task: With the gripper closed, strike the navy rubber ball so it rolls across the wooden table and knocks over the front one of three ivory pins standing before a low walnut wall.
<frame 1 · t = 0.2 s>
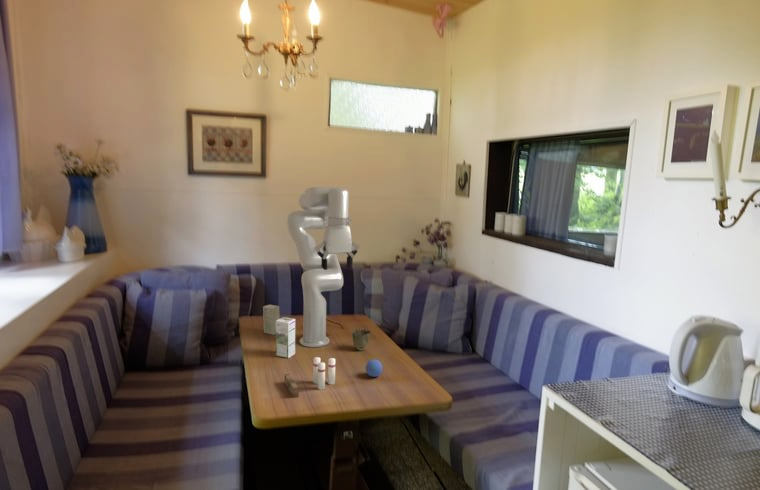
hand: (337, 268, 177), 36 cm above the table, tool pointing down, fingers open, 9 cm apart
glasses: (325, 331, 221), on the table
skincare box: (271, 333, 214), on the table
pin 2: (321, 388, 160), on the table
back wall: (291, 389, 158), on the table
ball: (374, 368, 170), on the table
front pin: (331, 383, 164), on the table
syrup box: (285, 355, 188), on the table
cup: (360, 350, 196), on the table
pin 1: (316, 382, 164), on the table
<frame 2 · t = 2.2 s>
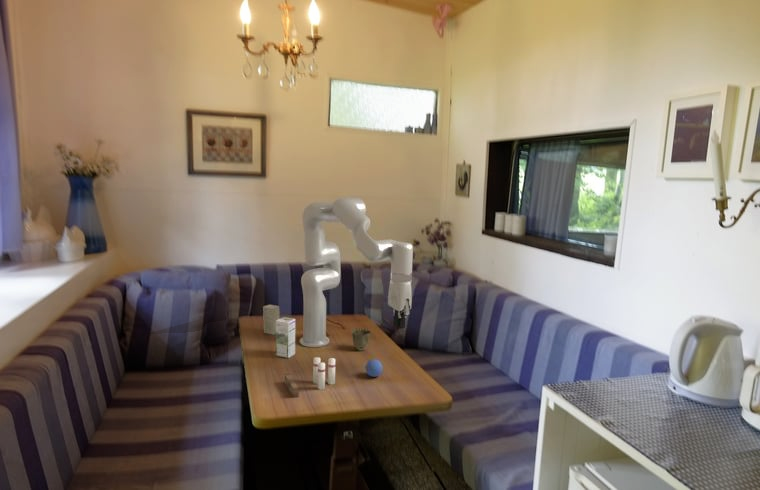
hand: (399, 326, 172), 17 cm above the table, tool pointing down, fingers closed
nothing on the table moved.
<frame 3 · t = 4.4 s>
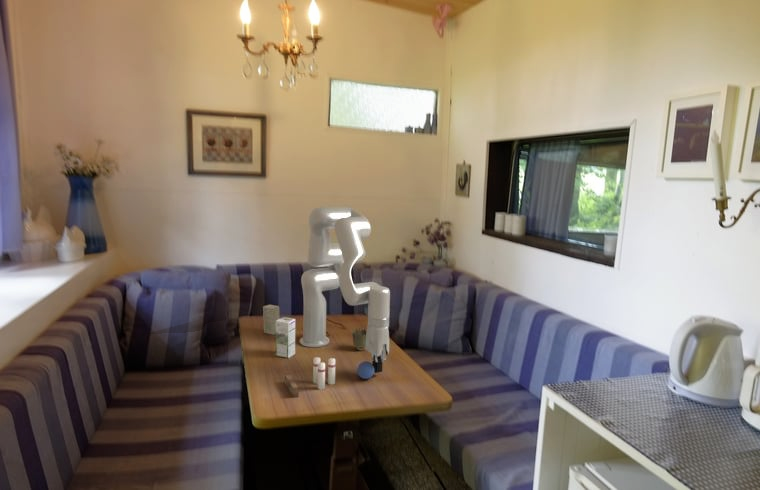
hand: (377, 371, 171), 2 cm above the table, tool pointing down, fingers closed
ball: (365, 370, 168), on the table
everything else where it was.
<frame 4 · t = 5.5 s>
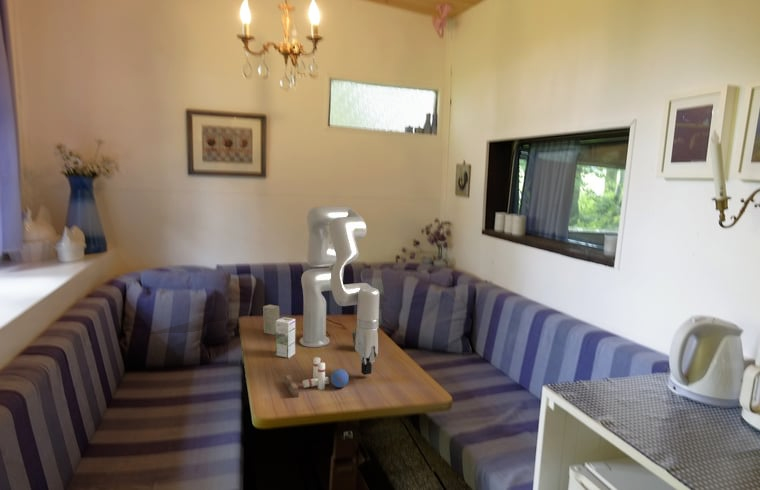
hand: (366, 373, 169), 2 cm above the table, tool pointing down, fingers closed
ball: (339, 378, 161), on the table
front pin: (327, 380, 163), point 1 cm above the table, tilted 90°
everything else where it was.
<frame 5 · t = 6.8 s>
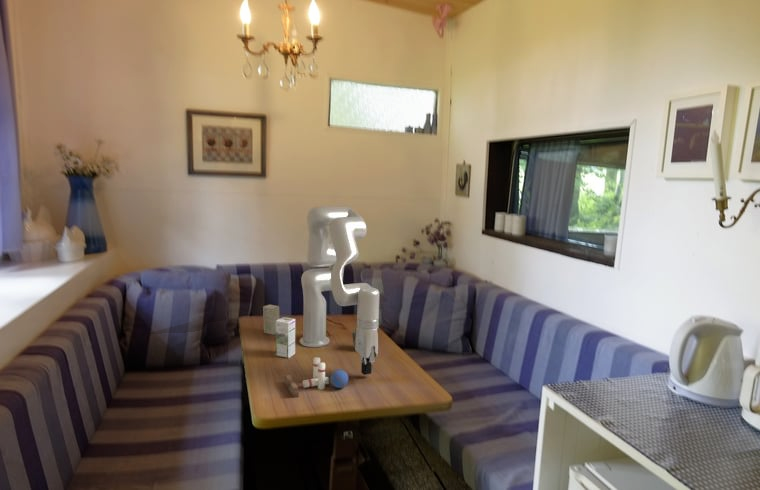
hand: (366, 373, 169), 2 cm above the table, tool pointing down, fingers closed
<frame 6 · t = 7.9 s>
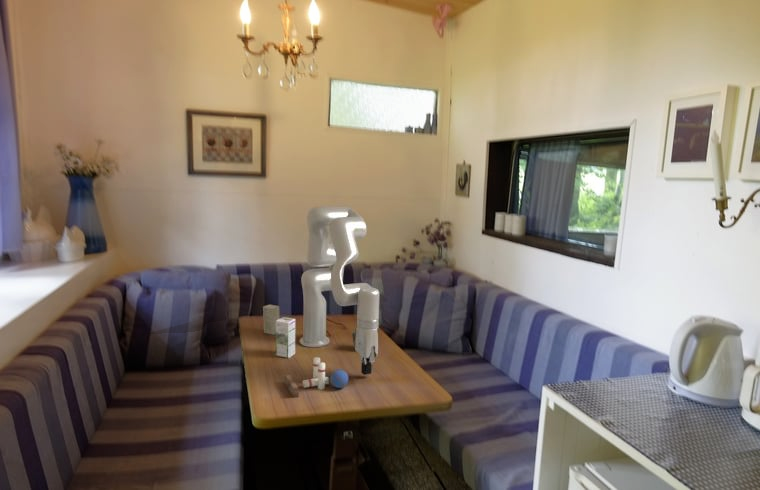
hand: (366, 373, 169), 2 cm above the table, tool pointing down, fingers closed
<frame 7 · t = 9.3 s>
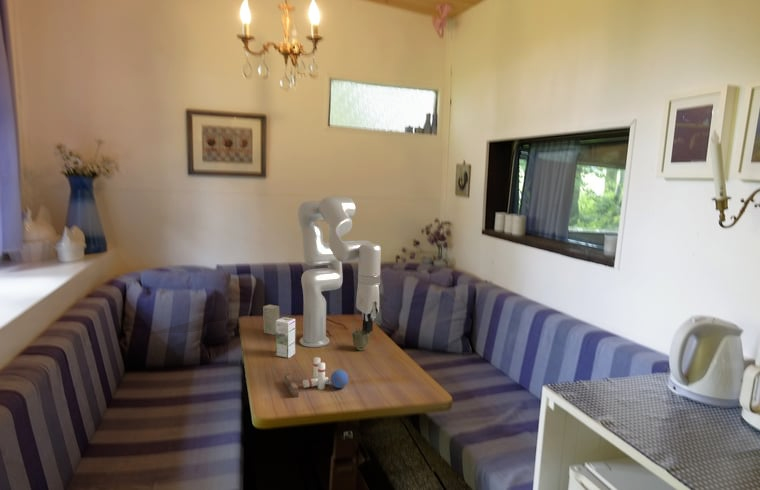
hand: (367, 330, 167), 17 cm above the table, tool pointing down, fingers closed
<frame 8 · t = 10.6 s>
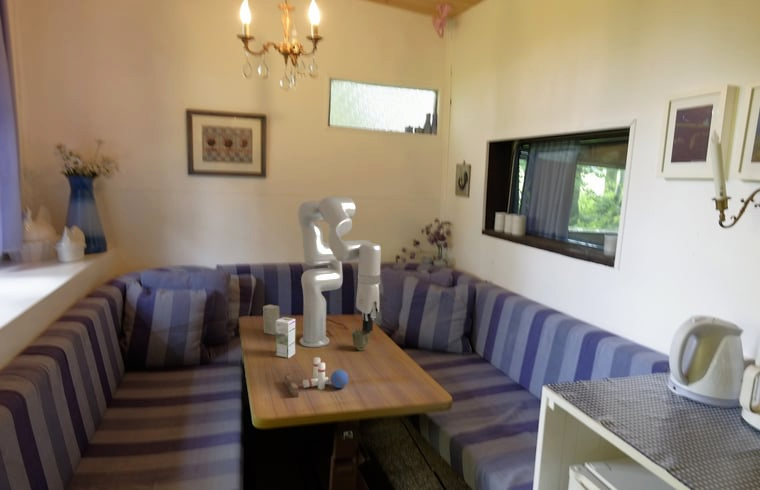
hand: (367, 330, 167), 17 cm above the table, tool pointing down, fingers closed
pin 2: (321, 388, 160), on the table, touching front pin
front pin: (327, 380, 163), point 1 cm above the table, tilted 90°, touching pin 2
at the end: front pin tilted 90°; front pin never touched the robot; ball moved 15.2 cm from its start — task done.
